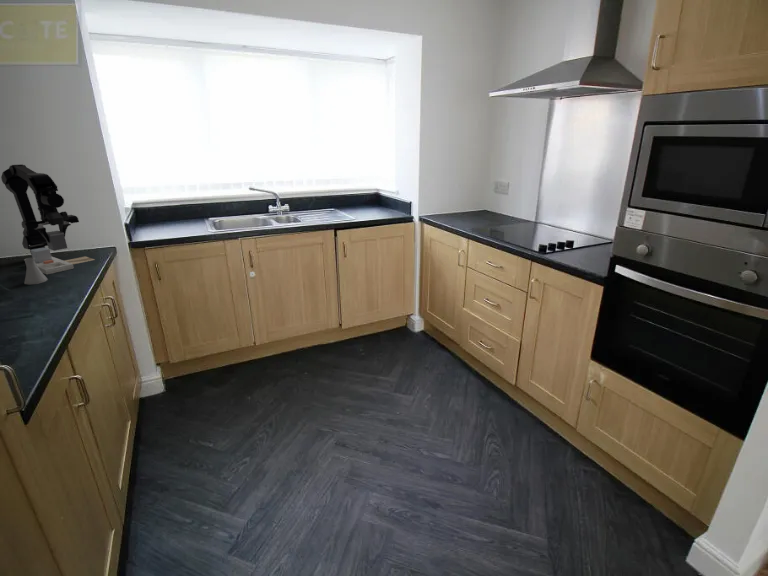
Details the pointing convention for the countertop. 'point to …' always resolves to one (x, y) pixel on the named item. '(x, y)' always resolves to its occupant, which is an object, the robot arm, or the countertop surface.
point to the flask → (33, 273)
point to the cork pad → (79, 260)
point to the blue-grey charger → (41, 255)
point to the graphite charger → (56, 240)
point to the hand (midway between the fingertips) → (56, 241)
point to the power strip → (54, 266)
